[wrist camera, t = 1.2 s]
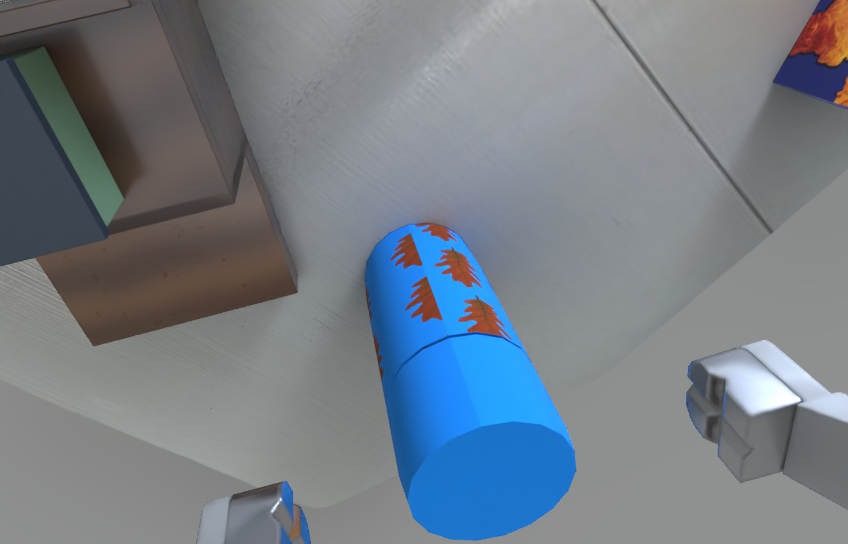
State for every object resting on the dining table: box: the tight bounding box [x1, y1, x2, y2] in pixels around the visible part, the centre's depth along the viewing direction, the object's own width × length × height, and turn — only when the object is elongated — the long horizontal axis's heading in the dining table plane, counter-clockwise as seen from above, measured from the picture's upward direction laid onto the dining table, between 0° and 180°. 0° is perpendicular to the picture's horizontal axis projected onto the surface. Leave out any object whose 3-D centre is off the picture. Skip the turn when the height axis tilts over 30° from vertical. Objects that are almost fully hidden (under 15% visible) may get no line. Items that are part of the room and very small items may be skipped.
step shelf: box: [0, 0, 298, 346], centre depth 39 cm, size 26×18×16 cm
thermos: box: [365, 223, 576, 540], centre depth 45 cm, size 11×11×25 cm
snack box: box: [0, 46, 124, 266], centre depth 30 cm, size 9×6×5 cm
